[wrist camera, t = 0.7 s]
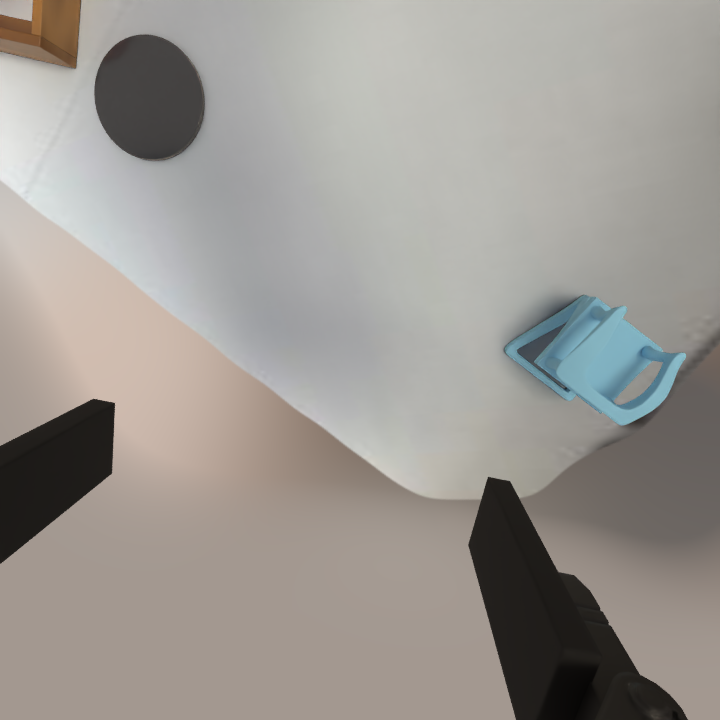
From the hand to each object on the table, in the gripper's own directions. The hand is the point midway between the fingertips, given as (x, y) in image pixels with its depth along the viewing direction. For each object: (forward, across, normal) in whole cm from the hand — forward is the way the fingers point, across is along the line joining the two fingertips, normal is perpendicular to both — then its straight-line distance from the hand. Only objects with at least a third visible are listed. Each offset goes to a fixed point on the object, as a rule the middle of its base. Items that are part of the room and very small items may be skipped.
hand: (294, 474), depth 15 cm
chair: (+27, +19, +3) cm, 33 cm away
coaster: (+29, -22, +17) cm, 40 cm away
